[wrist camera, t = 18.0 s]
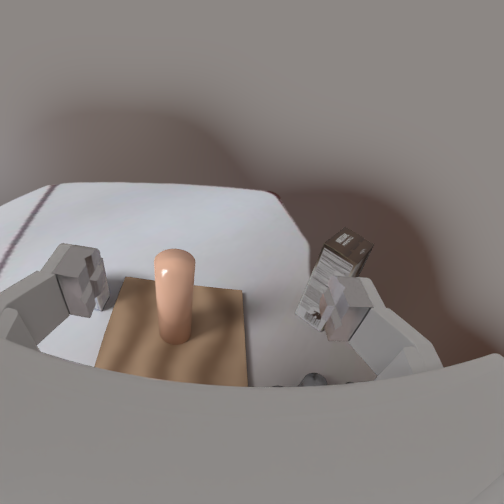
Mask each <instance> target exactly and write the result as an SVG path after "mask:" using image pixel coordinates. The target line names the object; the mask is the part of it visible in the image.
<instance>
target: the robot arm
mask: <svg viewBox="0 0 504 504" xmlns="http://www.w3.org/2000/svg"><path fill="white" fill-rule="evenodd" d="M100 260H101V256H100V251H99V250H98V249H97V248H91V247H85V246H78V245H71V244H65V243H62V244H59V246H58V247H57V248H56V250H55V251H54V252H53V254H52V255H51V257H50V258H49V259H48V261H47V262H46V264H45V265H44V267H43V268H42V269H41V271H36V272H34V273H32V274H31V275H29V276H27V277H26V278H24V279H22V280H20V281H19V282H17V283H15V284H14V285H12V286H11V287H9V288H7V289H6V290H4V291H2V292H1V293H0V504H504V358H503V357H502V356H501V355H499V354H490V355H487V356H484V357H481V358H478V359H474V360H471V361H467V362H464V363H460V364H457V365H453V366H449V367H445V368H443V366H442V363H441V362H440V359H439V357H438V355H437V353H436V351H435V349H434V347H433V345H432V343H431V342H430V341H428V340H427V339H426V338H425V337H424V336H422V335H421V334H420V333H419V332H418V331H416V330H415V329H414V328H413V327H411V326H410V325H409V324H408V323H407V322H405V321H404V320H403V319H402V318H400V317H399V316H398V315H397V314H395V313H394V312H393V311H392V310H390V309H389V308H386V307H385V305H384V303H383V301H382V300H381V298H380V296H379V294H378V292H377V290H376V288H375V286H374V285H373V283H372V281H371V280H370V279H369V278H362V277H345V276H332V277H331V278H330V279H329V281H328V287H329V289H328V290H326V291H325V292H324V293H323V294H322V297H321V299H320V305H319V310H320V315H321V318H322V319H323V320H325V321H326V324H325V326H324V328H325V332H326V335H327V338H328V341H349V342H348V343H349V344H350V345H351V346H352V347H353V348H354V350H355V351H356V352H357V353H358V354H359V355H360V356H361V358H362V359H363V360H364V361H365V362H366V363H367V364H368V366H369V367H370V368H371V369H372V370H373V371H374V372H375V374H376V375H377V377H376V378H375V379H374V380H373V381H367V382H358V383H349V384H338V385H325V386H307V387H236V386H218V385H205V384H194V383H185V382H176V381H168V380H161V379H154V378H147V377H141V376H136V375H130V374H125V373H120V372H115V371H110V370H105V369H101V368H96V367H92V366H88V365H84V364H80V363H76V362H73V361H69V360H66V359H62V358H59V357H55V356H52V355H49V354H46V353H43V352H41V351H40V350H39V348H38V347H37V345H38V344H39V343H40V342H41V341H42V340H43V339H44V338H45V337H46V336H47V335H49V334H50V333H51V332H52V331H53V330H54V329H55V328H56V327H57V326H58V325H60V324H61V323H62V322H63V321H64V320H65V319H66V318H67V317H69V316H70V315H69V314H71V315H76V316H81V317H87V318H90V317H91V315H92V312H93V310H94V307H95V305H96V302H95V298H96V297H97V296H99V295H100V293H101V291H102V289H103V283H104V272H103V268H102V267H101V266H100V265H99V264H98V263H99V262H100Z"/></svg>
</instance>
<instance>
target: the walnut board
mask: <svg viewBox="0 0 504 504" xmlns="http://www.w3.org/2000/svg"><path fill="white" fill-rule="evenodd" d="M95 367H96V368H101V369H105V370H110V371H115V372H120V373H125V374H130V375H136V376H141V377H147V378H154V379H161V380H168V381H176V382H185V383H194V384H205V385H218V386H236V387H248V380H247V365H246V349H245V332H244V315H243V298H242V290H232V289H222V288H213V287H204V286H195V285H194V287H193V303H192V322H191V336H190V338H189V339H188V340H187V341H186V342H185V343H183V344H179V345H172V344H169V343H166V342H165V341H164V340H163V339H162V338H161V337H160V334H159V325H158V314H157V301H156V286H155V281H154V280H146V279H139V278H132V277H125V279H124V282H123V285H122V287H121V290H120V292H119V295H118V297H117V300H116V303H115V306H114V308H113V311H112V314H111V317H110V320H109V322H108V325H107V328H106V331H105V334H104V337H103V341H102V344H101V347H100V350H99V353H98V357H97V360H96V363H95Z"/></svg>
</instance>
